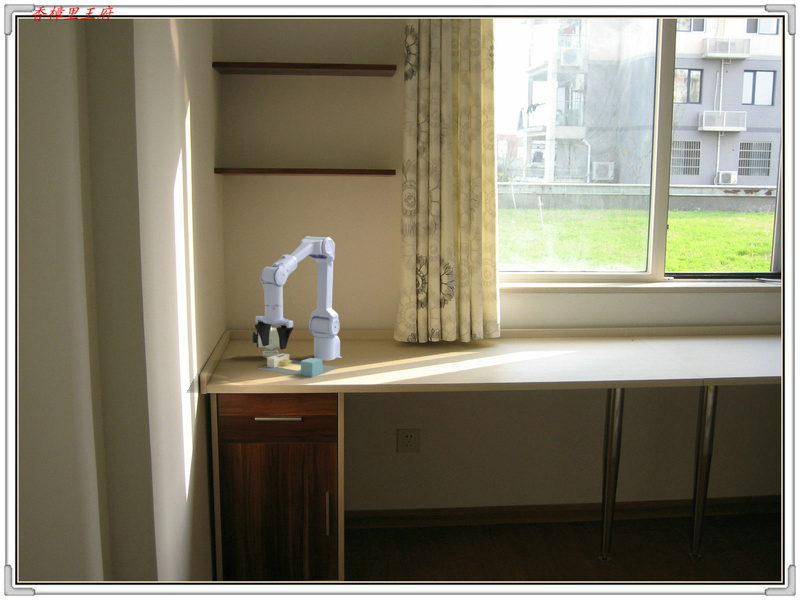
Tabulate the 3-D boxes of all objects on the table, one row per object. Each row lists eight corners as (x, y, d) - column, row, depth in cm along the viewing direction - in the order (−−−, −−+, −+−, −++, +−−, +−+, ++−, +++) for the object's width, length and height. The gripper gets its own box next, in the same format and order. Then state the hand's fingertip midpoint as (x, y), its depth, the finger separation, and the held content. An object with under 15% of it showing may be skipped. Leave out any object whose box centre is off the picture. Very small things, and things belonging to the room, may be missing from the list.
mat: (287, 361, 244) (287, 358, 244) (339, 369, 233) (339, 367, 233) (257, 370, 230) (257, 368, 230) (310, 380, 219) (310, 377, 219)
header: (282, 361, 240) (282, 352, 239) (296, 364, 237) (296, 355, 236) (267, 366, 233) (267, 357, 232) (281, 368, 230) (281, 359, 230)
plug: (311, 371, 227) (311, 357, 227) (322, 373, 225) (322, 359, 224) (300, 375, 223) (300, 361, 222) (312, 377, 220) (312, 362, 220)
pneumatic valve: (255, 357, 249) (254, 324, 247) (287, 357, 249) (287, 324, 248) (252, 361, 243) (251, 327, 242) (286, 361, 244) (285, 327, 242)
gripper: (247, 304, 219) (248, 346, 221) (281, 308, 211) (282, 352, 213) (263, 301, 225) (264, 342, 227) (297, 306, 217) (297, 348, 219)
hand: (274, 347), depth 220 cm, fingers open, 7 cm apart
